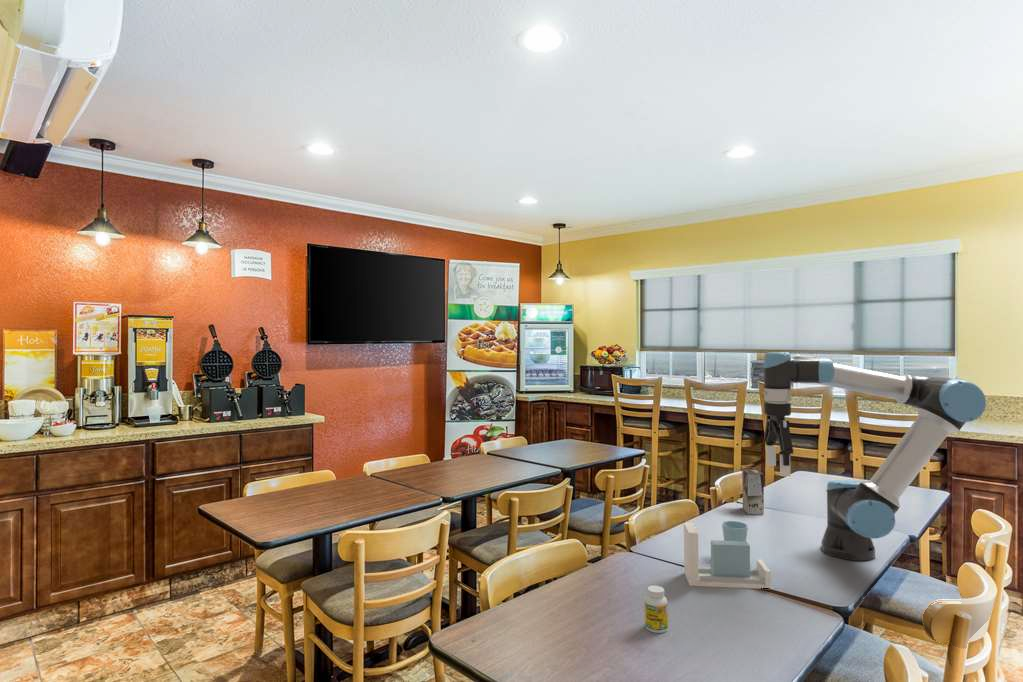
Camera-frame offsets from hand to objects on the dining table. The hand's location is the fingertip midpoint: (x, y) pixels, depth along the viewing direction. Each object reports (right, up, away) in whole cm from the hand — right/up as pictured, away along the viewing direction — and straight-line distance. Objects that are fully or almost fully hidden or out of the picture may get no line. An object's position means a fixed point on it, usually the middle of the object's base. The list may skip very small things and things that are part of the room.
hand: (777, 470), depth 181 cm
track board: (-20, -29, -12) cm, 38 cm away
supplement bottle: (-47, -30, -39) cm, 68 cm away
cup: (-11, -29, +6) cm, 32 cm away
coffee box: (+14, -28, +54) cm, 63 cm away
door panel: (-19, -28, -12) cm, 36 cm away
